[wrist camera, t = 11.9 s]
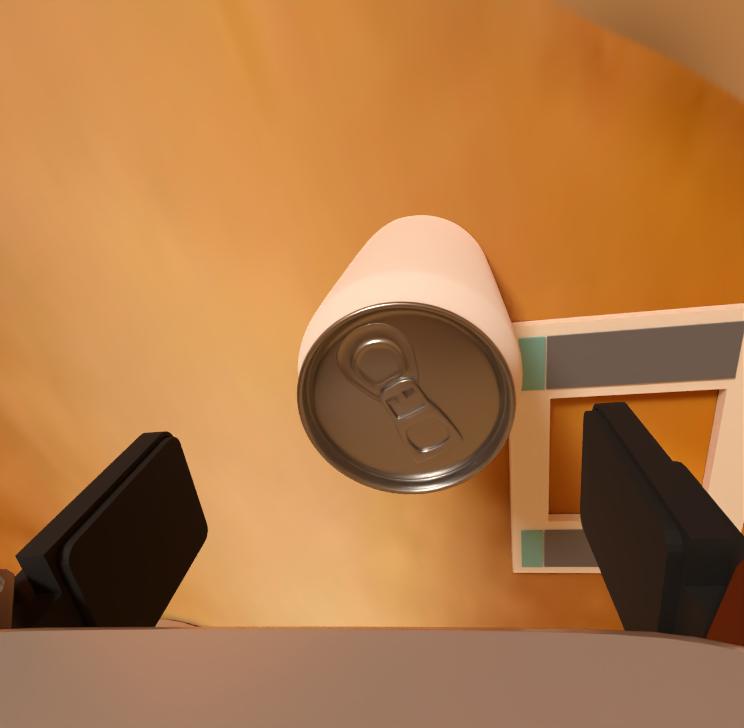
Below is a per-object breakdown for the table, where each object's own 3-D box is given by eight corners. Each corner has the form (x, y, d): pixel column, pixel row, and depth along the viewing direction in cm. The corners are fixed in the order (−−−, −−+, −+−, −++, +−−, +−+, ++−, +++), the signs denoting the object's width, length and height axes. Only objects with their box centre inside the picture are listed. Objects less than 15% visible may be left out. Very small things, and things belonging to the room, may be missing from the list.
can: (444, 183, 21) (449, 228, 10) (514, 304, 23) (579, 449, 12) (327, 262, 23) (230, 367, 12) (400, 366, 25) (369, 537, 14)
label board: (726, 564, 28) (733, 575, 27) (511, 564, 30) (513, 574, 29) (784, 299, 21) (795, 304, 21) (505, 323, 23) (507, 328, 23)
